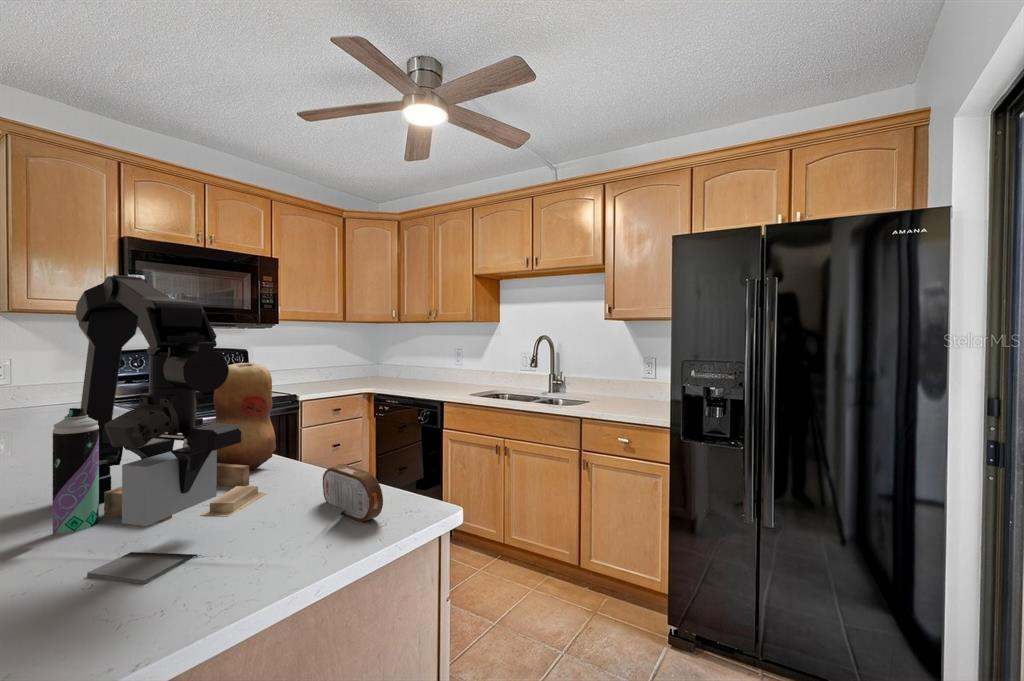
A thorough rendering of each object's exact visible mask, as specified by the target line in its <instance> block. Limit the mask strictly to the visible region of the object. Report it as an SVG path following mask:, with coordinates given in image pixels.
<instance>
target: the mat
mask: <svg viewBox="0 0 1024 681" xmlns="http://www.w3.org/2000/svg"><path fill="white" fill-rule="evenodd" d="M196 556H198V554H194V553H193V554H192V553H189V554H187V553H167V552H166V553H165V552H162V553H161V552H143V551H140V552H137V551H131V552H128V553H126V554H124V555H122V556H120V557H118V558H115V559H114V560H111V561H109V562H107V563H105V564H103V565H100V566H98V567H97V568H94V569H92V570H90V571H87V573H86V575H87V577H90V578H97V579H105V580H113V581H120V582H126V583H133V584H140V583H141V585H146V584H147V583H149V582H151V581H153V580H155V579H157V578H159V577H160V576H162V575H164V574H166V573H167V572H170V571H171V570H173V569H175V568H176V567H178V566H180V565H182V564H184V563H185V562H187V561H190V560H191V559H192V558H193V559H194V558H195V557H196Z"/></svg>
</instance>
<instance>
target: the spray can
mask: <svg viewBox="0 0 1024 681" xmlns="http://www.w3.org/2000/svg"><path fill="white" fill-rule="evenodd" d="M68 410H69V411H68V413H67V415H64V417H63V419H61V420H60V421H59V422H57V423H54V424H53V429H52V535H54V534H64V533H65V534H66V533H67V534H68V533H75V532H79V531H84V530H87V529H91V528H92V527H94V526H97V525H98V524H99V522H100V520H99V517H100V515H99V514H100V511H99V510H100V508H99V507H100V504H99V503H100V502H99V426H98V425H97V424H98V421H97V420H93V419H91V418H89V417H88V415H86V413H84V408H81V407H79V408H78V407H70V408H69V409H68Z"/></svg>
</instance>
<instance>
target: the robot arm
mask: <svg viewBox="0 0 1024 681" xmlns="http://www.w3.org/2000/svg"><path fill="white" fill-rule="evenodd" d="M75 318H76V320H77V322H78V327H79V328H80V330H81V332H82V334H83V335H84V336H85V337H86V340H88V343H87V344H88V347H87V352H86V353H87V354H86V362H85V370H84V375H83V376H84V377H83V378H84V379H83V386H82V394H81V403H80V408H84V413H86V415H88V417H89V418H91V419H93V420H97V421H98V424H97V425H98V426H99V503H101V502H104V492H106V491H109V490H112V475H111V467H113V466H120V465H121V462H122V457H123V453H124V452H123V450H126V451H130V452H132V453H134V454H135V455H137V456H138V457H139V458H140V460H141V459H145V458H149V457H152V456H156V455H159V454H163V453H167V452H170V451H171V452H172V453H173V454H174V455H175V456H176V457H177V458H178V460H179V480H180V490H181V493H183V494H184V493H187V492H189V491H190V489H191V487H192V485H193V483H194V481H195V479H196V477H197V475H198V474H199V472H200V470H201V468H202V466H203V464H204V463H205V461H206V459H207V458H208V456H209V455H210V453H211V452H212V451H214V450H218V449H221V448H224V447H228V446H231V445H234V444H237V443H241V429H240V428H239V427H238V426H237V425H236V424H224V423H211V424H208V425H204V418H203V417H197V400H198V399H203V398H204V393H210V392H214V390H216V389H217V388H219V387H220V386H221V385H223V383H224V382H225V381H226V379H227V377H228V372H229V367H228V365H229V364H228V363H227V360H226V359H225V358H224V356H223V355H221V353H219V352H217V351H215V350H214V348H216V347H217V343H218V342H217V341H216V339H217V334H216V333H215V330H214V329H213V328H214V327H212V324H211V323H210V321H209V318H208V315H207V313H206V311H205V310H204V308H203V307H202V305H201V304H200V303H199V302H198V301H197V302H196V301H194V300H187V299H180V298H172V297H170V296H168V295H167V294H165V293H163V292H162V291H161V290H158V289H157V288H155V287H154V286H152V285H151V284H149V283H148V281H147V280H146V278H142V277H139V276H131V275H130V276H129V275H118V274H113V275H110V276H109V275H108V276H106V277H105V279H104V281H103V282H102V283H100V284H98V285H95V286H93V287H91V288H88V289H86V290H85V291H83V292H82V294H81V296H80V297H79V299H78V301H77V303H76V306H75ZM138 328H139V330H140V332H141V334H142V335H143V337H144V339H145V340H146V342H147V344H148V345H149V346H148V348H147V349H146V353H147V354H148V355H149V356H148V359H149V360H148V362H149V364H148V374H149V375H148V393H145V394H144V393H143V394H141V396H140V398H139V404H138V407H136V408H133V409H130V410H128V411H126V412H124V413H122V414H121V415H119V416H117V417H115V418H113V415H114V409H115V400H116V394H117V387H118V379H119V373H120V365H121V359H122V350H123V348H124V346H126V344H128V343H129V341H131V339H133V338H134V336H136V333H137V329H138ZM175 441H183V443H182V447H179V448H178V449H177V448H176V449H174V446H175Z"/></svg>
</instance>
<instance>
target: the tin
mask: <svg viewBox="0 0 1024 681" xmlns="http://www.w3.org/2000/svg"><path fill="white" fill-rule="evenodd" d="M322 489H323V490H322V493H323V497H324V500H325V502H326V503H327V504H329V505H332V506H335V507H337V508H339V509H342V511H341V512H340V514H341V515H342V516H346V517H348V518H350V519H352V520H355V521H357V522H360V523H364V522H366V521H369V520H372V519H375V518H377V517H378V516H379V515H380V514H381V512H382V509H383V507H384V497H383V496H384V495H383V490H382V487H381V485H380V483H379V481H378V479H377V477H375V476H374V474H372V473H371V472H369V471H366V470H363V469H360V468H358V467H354V466H351V465H348V464H346V463H339V464H337V465H333V466H331V467H329V468H327V469H326V470H325V471H324V473H323V475H322Z"/></svg>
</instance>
